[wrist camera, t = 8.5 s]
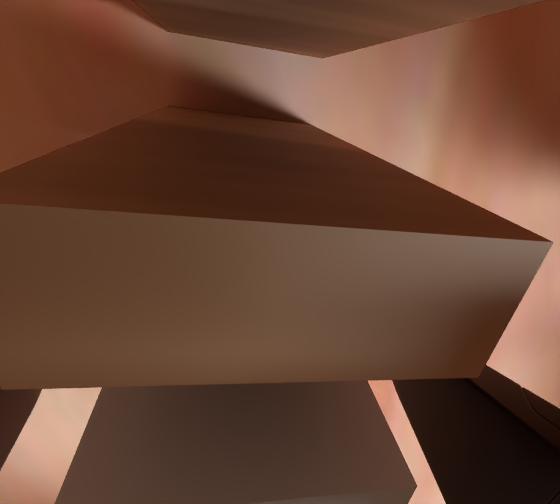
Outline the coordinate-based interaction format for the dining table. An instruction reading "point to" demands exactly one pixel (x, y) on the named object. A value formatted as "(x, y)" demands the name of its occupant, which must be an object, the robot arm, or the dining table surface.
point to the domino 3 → (316, 20)
